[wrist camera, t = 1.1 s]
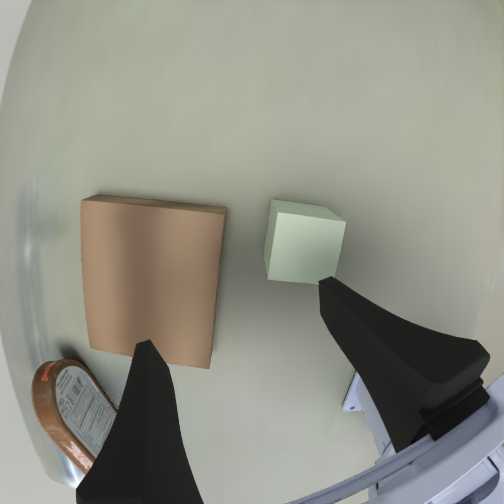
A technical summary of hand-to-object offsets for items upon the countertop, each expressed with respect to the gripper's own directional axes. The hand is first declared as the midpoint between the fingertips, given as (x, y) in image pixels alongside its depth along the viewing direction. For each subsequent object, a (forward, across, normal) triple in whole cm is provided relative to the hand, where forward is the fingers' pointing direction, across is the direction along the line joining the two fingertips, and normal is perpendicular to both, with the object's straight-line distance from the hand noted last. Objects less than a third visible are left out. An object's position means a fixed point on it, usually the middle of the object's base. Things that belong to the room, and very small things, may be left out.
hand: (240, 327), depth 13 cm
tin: (+10, +16, +16) cm, 25 cm away
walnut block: (+12, +5, +5) cm, 14 cm away
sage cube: (+10, -6, +3) cm, 12 cm away
